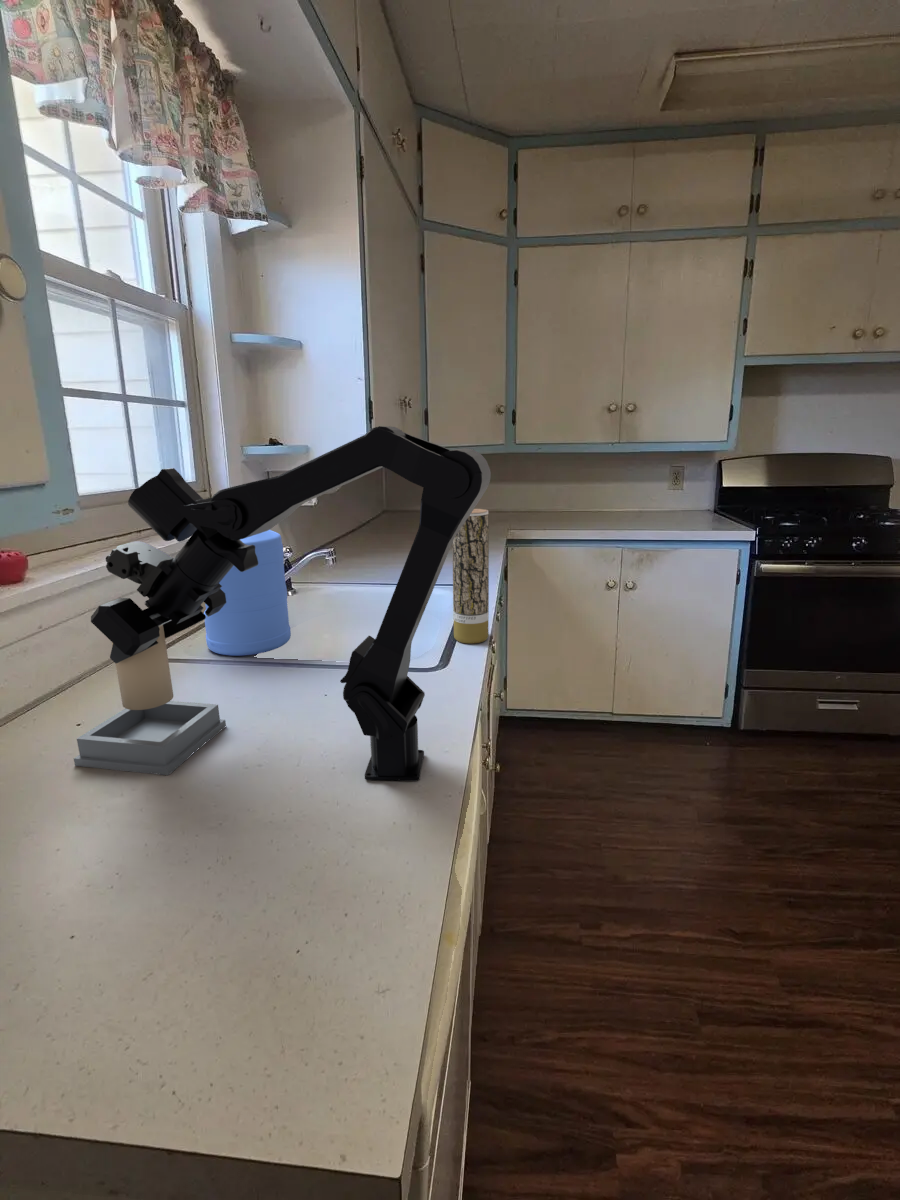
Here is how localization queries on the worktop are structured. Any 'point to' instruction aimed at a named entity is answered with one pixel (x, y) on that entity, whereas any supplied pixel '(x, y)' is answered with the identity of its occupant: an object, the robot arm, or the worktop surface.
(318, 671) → the worktop surface
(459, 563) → the paper tube
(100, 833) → the worktop surface
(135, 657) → the beige knobbed cylinder
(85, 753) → the grey rimmed tray
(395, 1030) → the worktop surface
